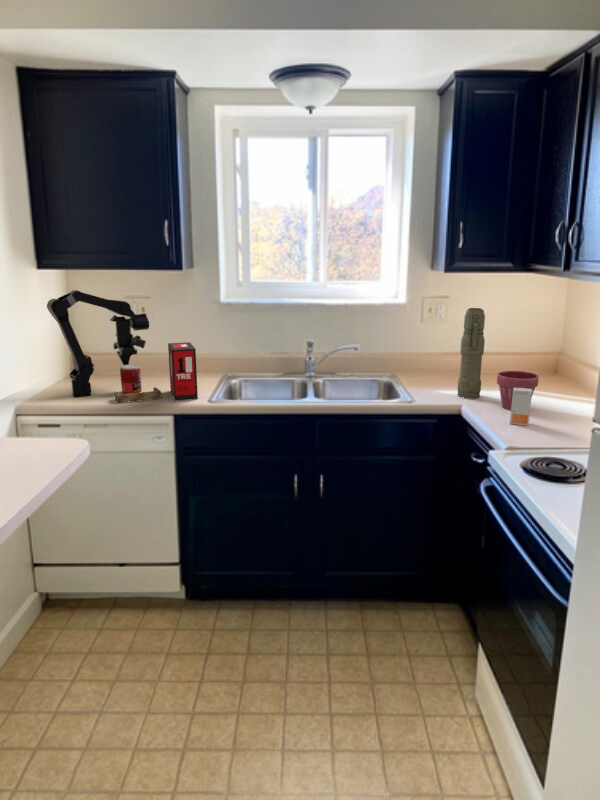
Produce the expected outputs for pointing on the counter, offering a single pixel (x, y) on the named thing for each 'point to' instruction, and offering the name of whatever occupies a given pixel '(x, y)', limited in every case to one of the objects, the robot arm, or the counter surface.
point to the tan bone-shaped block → (138, 396)
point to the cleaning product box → (183, 371)
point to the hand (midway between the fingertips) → (126, 368)
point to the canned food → (130, 379)
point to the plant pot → (514, 384)
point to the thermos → (471, 354)
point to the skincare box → (521, 406)
